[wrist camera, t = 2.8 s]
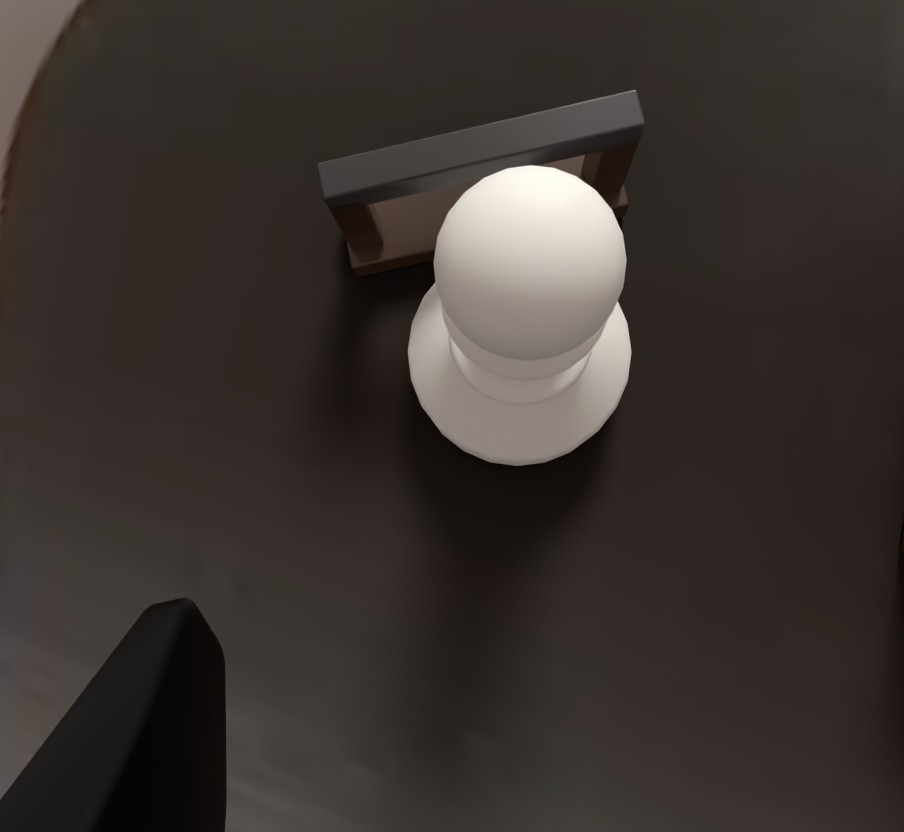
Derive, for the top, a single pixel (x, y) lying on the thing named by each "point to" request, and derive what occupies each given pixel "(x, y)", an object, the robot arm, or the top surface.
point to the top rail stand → (903, 545)
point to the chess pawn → (523, 318)
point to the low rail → (472, 174)
